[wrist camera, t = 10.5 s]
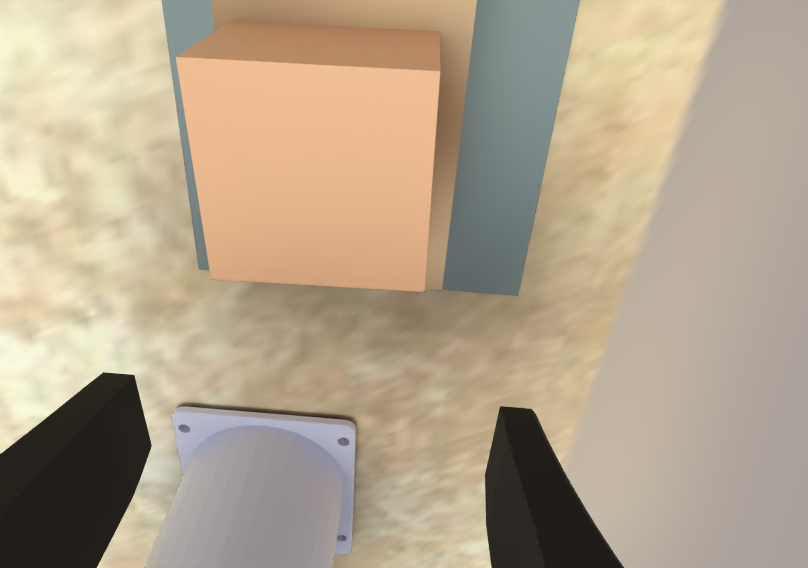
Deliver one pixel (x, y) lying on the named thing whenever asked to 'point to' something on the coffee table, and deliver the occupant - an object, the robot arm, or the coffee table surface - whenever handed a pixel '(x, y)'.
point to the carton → (314, 151)
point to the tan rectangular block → (454, 17)
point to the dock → (463, 132)
